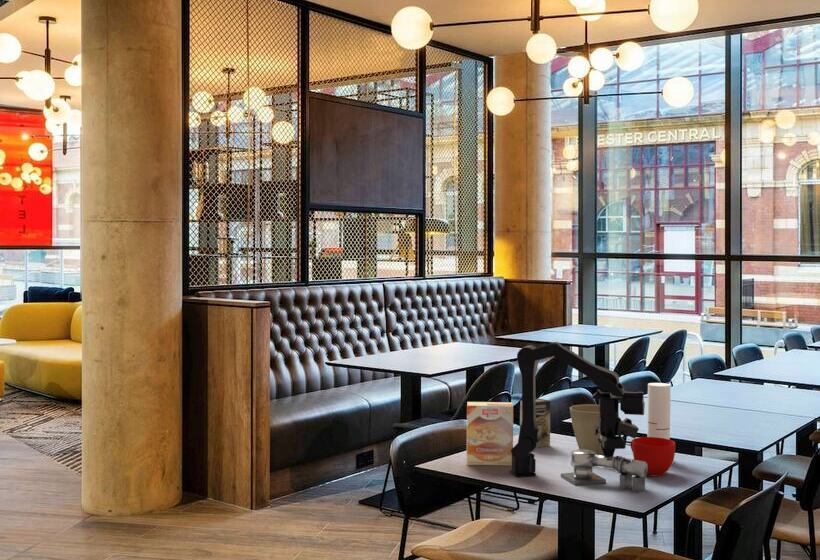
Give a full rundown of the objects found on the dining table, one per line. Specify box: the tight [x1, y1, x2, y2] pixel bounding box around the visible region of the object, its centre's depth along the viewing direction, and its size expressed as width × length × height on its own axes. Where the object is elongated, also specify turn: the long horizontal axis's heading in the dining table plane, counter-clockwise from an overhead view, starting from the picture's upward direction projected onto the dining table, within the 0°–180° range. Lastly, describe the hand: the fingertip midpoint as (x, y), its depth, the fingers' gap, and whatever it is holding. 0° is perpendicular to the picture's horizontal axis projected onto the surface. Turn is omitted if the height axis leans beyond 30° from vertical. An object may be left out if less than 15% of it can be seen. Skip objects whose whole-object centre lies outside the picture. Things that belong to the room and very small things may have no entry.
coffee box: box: [519, 398, 551, 448], centre depth 311 cm, size 9×6×16 cm
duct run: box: [616, 456, 648, 494], centre depth 255 cm, size 8×5×9 cm, turn 50°
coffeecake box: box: [466, 401, 514, 467], centre depth 286 cm, size 15×7×20 cm, turn 86°
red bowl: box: [629, 436, 676, 477], centre depth 275 cm, size 13×17×10 cm
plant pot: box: [569, 404, 604, 455], centre depth 297 cm, size 15×15×16 cm
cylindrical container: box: [646, 382, 671, 440], centre depth 290 cm, size 7×7×25 cm
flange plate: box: [560, 467, 607, 486], centre depth 266 cm, size 10×10×4 cm
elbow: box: [570, 448, 622, 472], centre depth 263 cm, size 15×7×4 cm, turn 57°
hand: (609, 464), depth 265 cm, fingers closed
